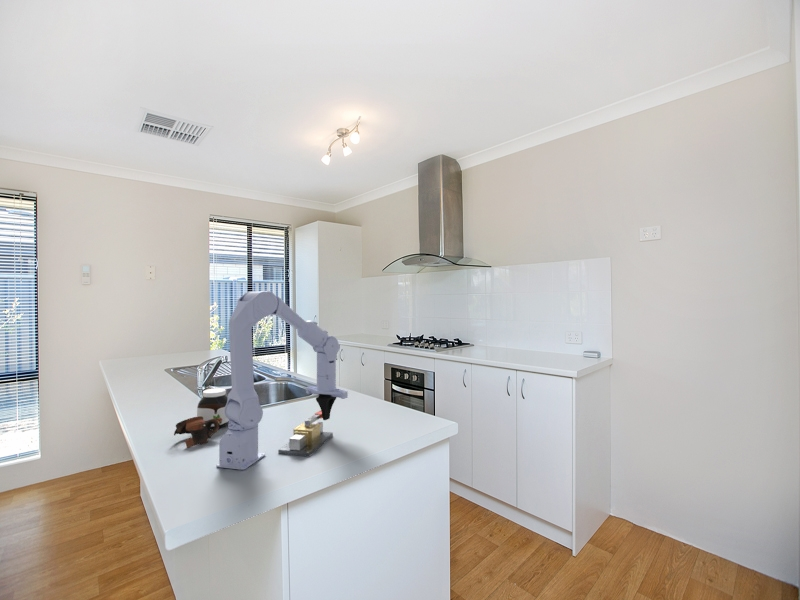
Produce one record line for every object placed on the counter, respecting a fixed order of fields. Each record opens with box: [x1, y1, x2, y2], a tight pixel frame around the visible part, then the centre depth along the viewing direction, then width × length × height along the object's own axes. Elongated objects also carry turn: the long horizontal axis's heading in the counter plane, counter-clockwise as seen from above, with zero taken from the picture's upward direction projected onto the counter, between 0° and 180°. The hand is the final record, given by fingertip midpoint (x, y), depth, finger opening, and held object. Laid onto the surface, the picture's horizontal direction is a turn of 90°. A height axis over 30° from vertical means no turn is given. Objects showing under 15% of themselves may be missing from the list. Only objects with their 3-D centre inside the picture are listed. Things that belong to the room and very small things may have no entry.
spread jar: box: [196, 387, 229, 430], centre depth 130 cm, size 12×11×12 cm
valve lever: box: [304, 410, 323, 427], centre depth 117 cm, size 11×2×2 cm, turn 164°
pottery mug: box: [173, 416, 220, 448], centre depth 115 cm, size 12×10×8 cm
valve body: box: [277, 421, 334, 457], centre depth 112 cm, size 16×9×5 cm, turn 167°
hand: (326, 419), depth 119 cm, fingers closed
